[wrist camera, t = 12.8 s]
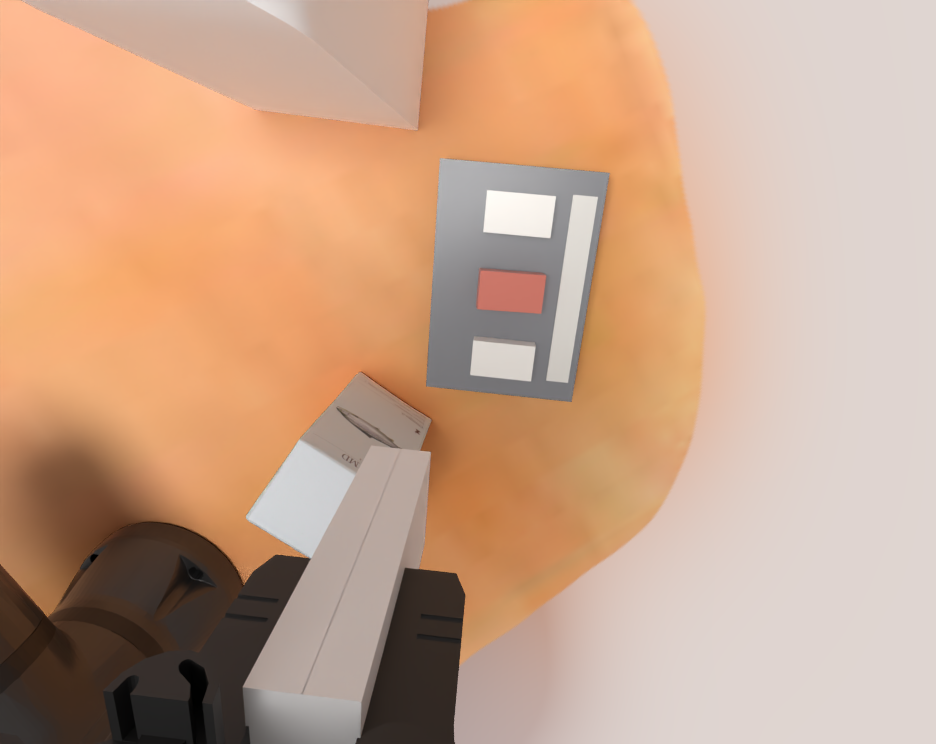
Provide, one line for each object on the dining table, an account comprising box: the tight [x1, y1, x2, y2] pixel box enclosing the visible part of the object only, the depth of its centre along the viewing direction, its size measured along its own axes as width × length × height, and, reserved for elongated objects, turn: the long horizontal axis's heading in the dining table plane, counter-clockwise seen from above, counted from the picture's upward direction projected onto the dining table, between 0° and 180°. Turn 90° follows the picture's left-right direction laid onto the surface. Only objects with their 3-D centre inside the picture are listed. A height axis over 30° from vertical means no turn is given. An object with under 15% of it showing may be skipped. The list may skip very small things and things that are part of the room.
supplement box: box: [246, 372, 432, 559], centre depth 36 cm, size 7×7×13 cm
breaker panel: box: [426, 158, 609, 402], centre depth 36 cm, size 16×11×4 cm
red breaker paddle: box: [476, 268, 546, 314], centre depth 34 cm, size 3×4×1 cm, turn 85°
